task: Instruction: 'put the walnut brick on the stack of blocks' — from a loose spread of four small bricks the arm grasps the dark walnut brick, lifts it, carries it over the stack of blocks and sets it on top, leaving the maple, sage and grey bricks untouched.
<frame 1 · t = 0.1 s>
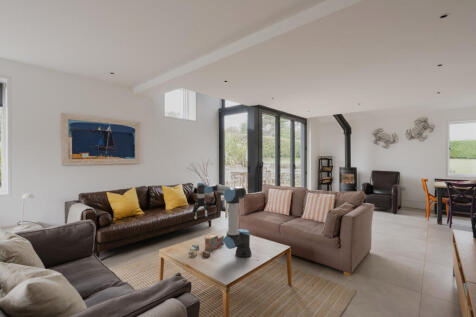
hand: (200, 217, 243), 28 cm above the table, fingers open, 13 cm apart
walnut brick: (206, 256, 215), on the table
grey brick: (195, 249, 230), on the table
stack of blocks: (214, 247, 236), on the table
maple brick: (193, 255, 216), on the table
sage brick: (192, 252, 223), on the table
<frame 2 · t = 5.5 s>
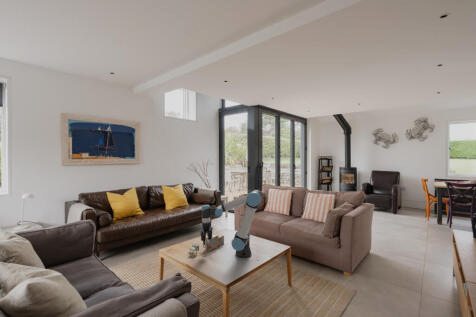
hand: (206, 247, 215), 8 cm above the table, fingers closed on walnut brick, 3 cm apart
walnut brick: (206, 247, 215), point 8 cm above the table, touching gripper
everything else where it was.
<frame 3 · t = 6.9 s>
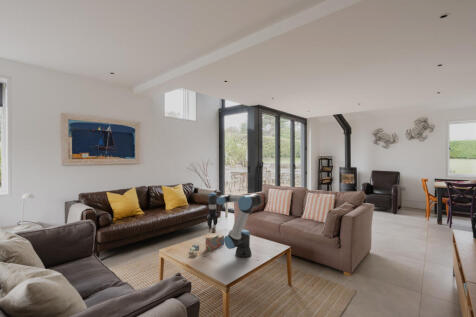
hand: (212, 231, 230), 17 cm above the table, fingers closed on walnut brick, 3 cm apart
walnut brick: (212, 232, 230), point 17 cm above the table, touching gripper
everything else where it was.
when the fingers open (14 cm above the table, at t = 8.4 s): walnut brick drops 1 cm, resting on stack of blocks.
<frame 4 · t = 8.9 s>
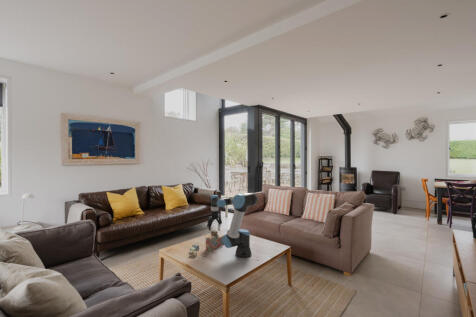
hand: (214, 231, 236), 15 cm above the table, fingers open, 10 cm apart
walnut brick: (214, 235, 236), point 12 cm above the table, touching stack of blocks
stack of blocks: (215, 246, 237), on the table, touching walnut brick
everything else where it was.
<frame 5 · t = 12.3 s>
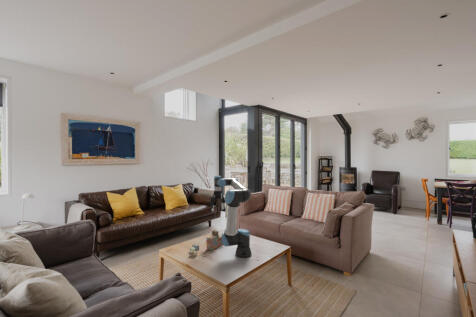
hand: (217, 210, 247), 35 cm above the table, fingers open, 13 cm apart
walnut brick: (215, 234, 237), point 12 cm above the table, touching stack of blocks
at the end: walnut brick inside the target area in the stack of blocks (1.1 cm from its centre), point 12.5 cm above the stack of blocks's base; grey brick moved 0.2 cm from its start; sage brick moved 0.2 cm from its start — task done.
